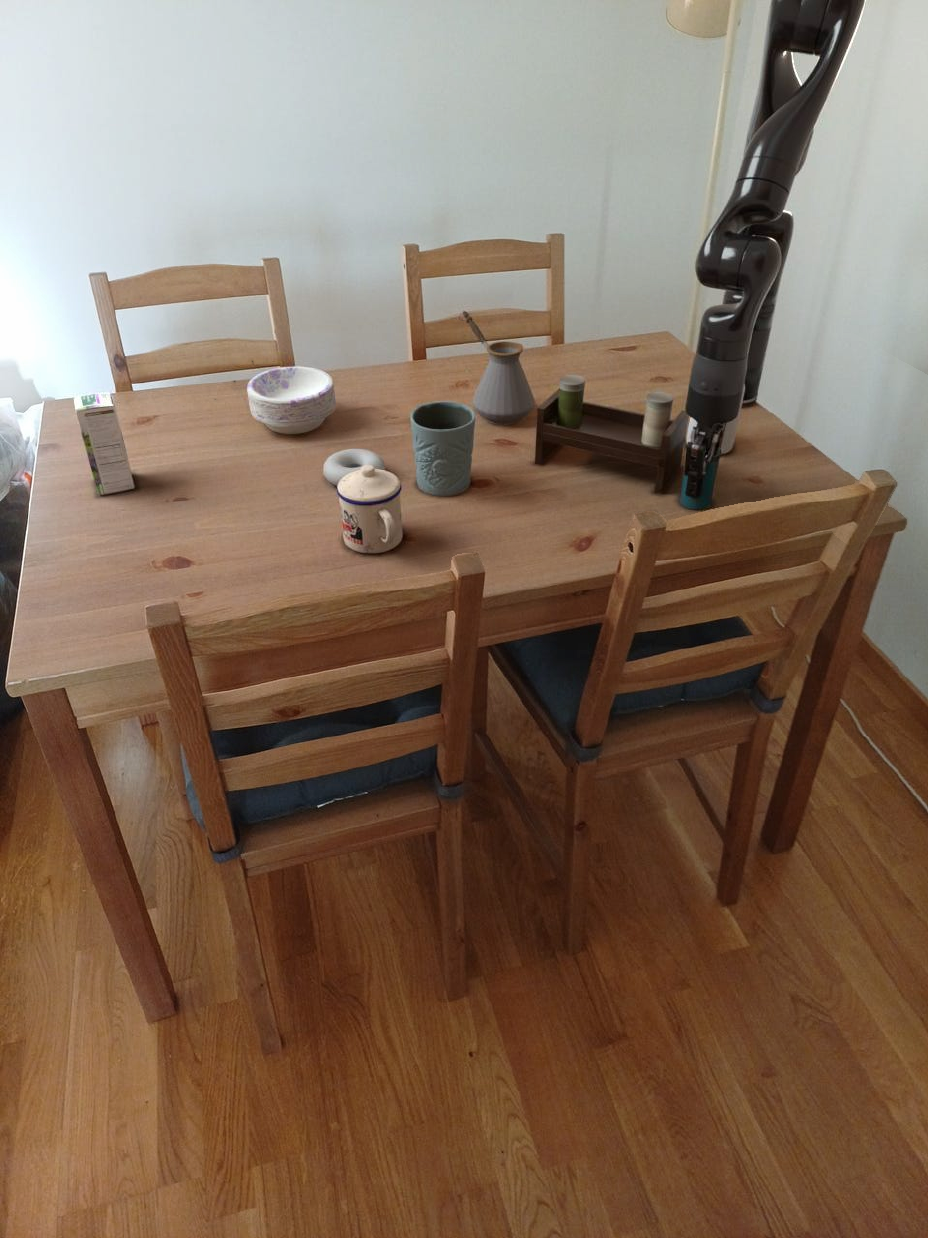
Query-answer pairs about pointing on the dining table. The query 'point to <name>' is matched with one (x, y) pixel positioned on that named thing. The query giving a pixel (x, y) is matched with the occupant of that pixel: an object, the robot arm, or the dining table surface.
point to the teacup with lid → (370, 510)
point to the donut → (349, 463)
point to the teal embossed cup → (443, 446)
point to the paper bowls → (291, 398)
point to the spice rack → (612, 429)
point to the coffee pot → (502, 383)
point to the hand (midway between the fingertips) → (697, 487)
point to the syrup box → (104, 442)
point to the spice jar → (707, 486)
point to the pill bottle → (728, 433)
